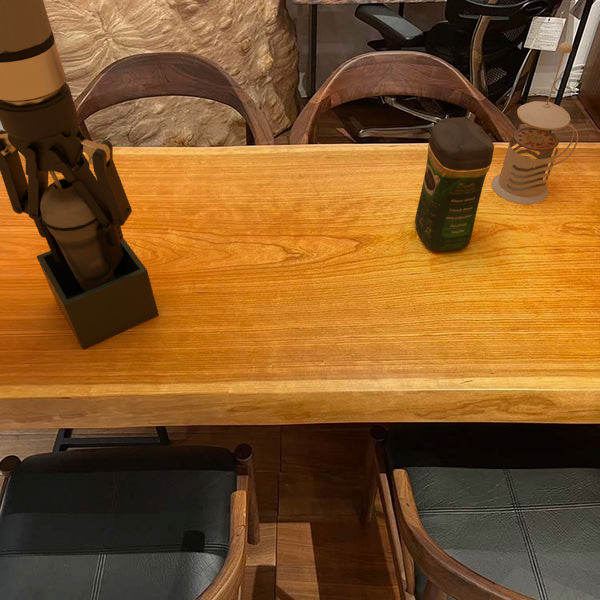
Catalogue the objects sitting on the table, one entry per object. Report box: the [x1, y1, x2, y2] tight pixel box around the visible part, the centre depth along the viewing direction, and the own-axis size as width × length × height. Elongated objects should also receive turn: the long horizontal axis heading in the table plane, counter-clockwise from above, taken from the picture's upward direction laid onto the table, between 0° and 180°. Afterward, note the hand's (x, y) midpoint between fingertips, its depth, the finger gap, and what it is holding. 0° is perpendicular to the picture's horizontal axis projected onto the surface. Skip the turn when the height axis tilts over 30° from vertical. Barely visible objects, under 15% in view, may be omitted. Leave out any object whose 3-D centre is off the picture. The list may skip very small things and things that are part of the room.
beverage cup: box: [40, 171, 114, 291], centre depth 71 cm, size 7×7×20 cm
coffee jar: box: [414, 116, 495, 253], centre depth 87 cm, size 10×8×19 cm
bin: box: [36, 237, 160, 350], centre depth 79 cm, size 11×11×9 cm
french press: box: [491, 41, 579, 205], centre depth 93 cm, size 10×12×25 cm
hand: (89, 258), depth 75 cm, fingers closed on beverage cup, 7 cm apart
